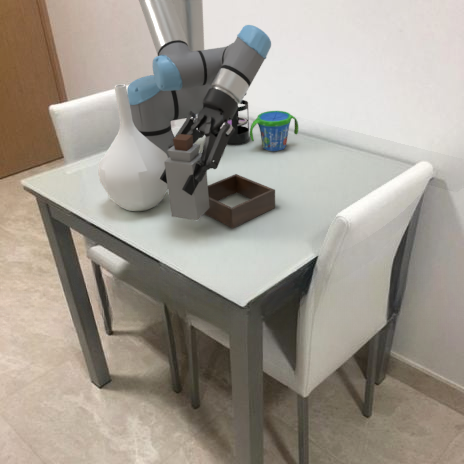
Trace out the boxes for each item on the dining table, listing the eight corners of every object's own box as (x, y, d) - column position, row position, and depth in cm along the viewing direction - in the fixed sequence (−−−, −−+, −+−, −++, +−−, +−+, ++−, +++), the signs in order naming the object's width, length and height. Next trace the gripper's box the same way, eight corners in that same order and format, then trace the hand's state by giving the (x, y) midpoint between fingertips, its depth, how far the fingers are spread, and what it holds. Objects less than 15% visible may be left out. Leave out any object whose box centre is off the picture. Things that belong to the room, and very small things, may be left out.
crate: (195, 209, 130) (193, 191, 127) (236, 191, 138) (235, 173, 135) (232, 228, 121) (231, 209, 118) (275, 207, 129) (275, 189, 126)
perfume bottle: (171, 216, 118) (161, 141, 107) (184, 203, 123) (176, 130, 112) (197, 220, 116) (190, 144, 105) (209, 207, 121) (203, 133, 110)
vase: (183, 190, 140) (170, 75, 122) (161, 221, 126) (142, 97, 108) (122, 186, 143) (100, 75, 125) (94, 217, 129) (65, 96, 111)
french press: (249, 145, 164) (247, 70, 150) (221, 146, 165) (216, 71, 151) (250, 133, 174) (248, 61, 160) (222, 134, 174) (218, 62, 160)
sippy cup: (253, 156, 157) (252, 123, 151) (247, 144, 165) (246, 113, 159) (302, 151, 158) (303, 118, 152) (293, 139, 167) (294, 108, 160)
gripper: (266, 114, 108) (214, 208, 110) (205, 97, 121) (160, 181, 123) (247, 94, 102) (193, 193, 104) (185, 79, 115) (138, 167, 117)
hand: (175, 187), depth 113 cm, fingers closed on perfume bottle, 8 cm apart
